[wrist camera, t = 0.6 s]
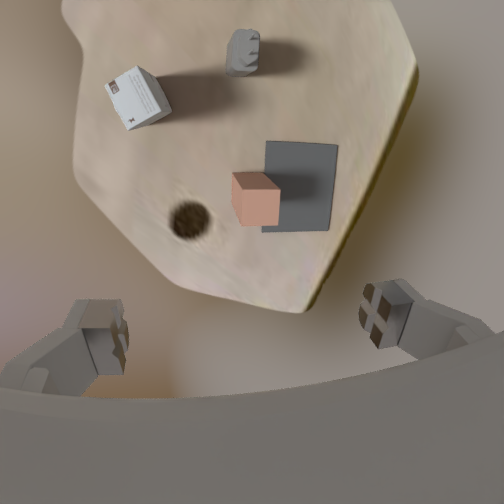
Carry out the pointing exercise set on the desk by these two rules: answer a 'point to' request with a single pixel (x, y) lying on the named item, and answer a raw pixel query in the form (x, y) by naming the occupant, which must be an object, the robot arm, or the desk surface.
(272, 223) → the block
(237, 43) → the power adapter
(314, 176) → the mat
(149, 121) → the skincare box
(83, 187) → the desk surface
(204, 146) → the desk surface
